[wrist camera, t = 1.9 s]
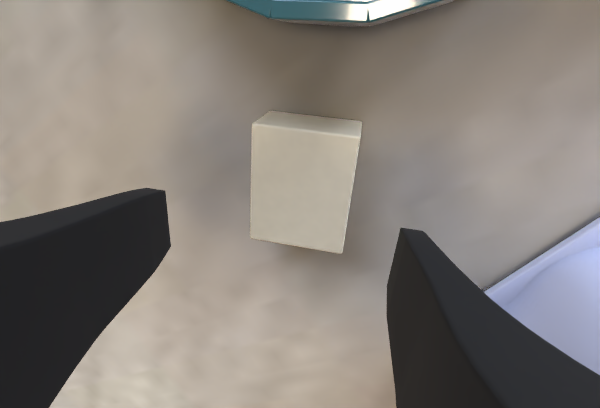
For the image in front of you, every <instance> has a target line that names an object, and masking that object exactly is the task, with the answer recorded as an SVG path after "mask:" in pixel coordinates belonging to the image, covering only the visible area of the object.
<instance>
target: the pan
mask: <svg viewBox="0 0 600 408" xmlns="http://www.w3.org/2000/svg"><path fill="white" fill-rule="evenodd" d="M226 1H228V2H231V3H233V4H236V5H238V6H240V7H243V8H245V9H247V10H250V11H252V12H254V13H257V14H259V15H262V16H264V17H266V18H269V19H274V20H280V21H286V22H291V23H297V24H318V25H337V26H363V27H369V26H374V25H377V24H381V23H384V22H387V21H391V20H394V19H397V18H402V17H404V16H407V15H411V14H414V13H417V12H421V11H424V10H427V9H430V8H434V7H437V6H440V5H444V4H447V3H449V2H452V1H454V0H226Z"/></svg>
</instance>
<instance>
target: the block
mask: <svg viewBox="0 0 600 408" xmlns="http://www.w3.org/2000/svg"><path fill="white" fill-rule="evenodd" d="M361 131H362V122H361V121H354V120H346V119H338V118H329V117H321V116H313V115H304V114H296V113H288V112H279V111H269V112H268V113H266V114H265V115H263V116H262V117H261V118H259V119H258V120H256V121H255V122H254V123H252V141H251V198H250V238H251V239H256V240H262V241H268V242H273V243H279V244H285V245H291V246H297V247H302V248H308V249H314V250H320V251H326V252H332V253H337V254H342V252H343V246H344V240H345V233H346V227H347V221H348V214H349V208H350V202H351V195H352V189H353V183H354V176H355V170H356V164H357V158H358V151H359V145H360V138H361Z"/></svg>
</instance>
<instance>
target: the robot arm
mask: <svg viewBox="0 0 600 408" xmlns="http://www.w3.org/2000/svg"><path fill="white" fill-rule="evenodd" d="M170 247H171V244H170V234H169V224H168V214H167V204H166V194H165V191H163V190H157V189H150V188H143V189H137V190H132V191H127V192H123V193H119V194H115V195H112V196H108V197H104V198H100V199H97V200H93V201H89V202H86V203H82V204H78V205H75V206H71V207H67V208H63V209H58V210H54V211H50V212H46V213H42V214H38V215H34V216H30V217H25V218H20V219H15V220H10V221H4V222H0V408H49V406H50V405H51V403H52V402H53V400H54V399H55V397H56V396H57V394H58V393H59V391H60V390H61V388H62V387H63V385H64V384H65V382H66V381H67V379H68V378H69V376H70V375H71V374H72V372H73V371H74V369H75V368H76V366H77V365H78V364H79V362H80V361H81V359H82V358H83V357H84V355H85V354H86V352H87V351H88V350H89V348H90V347H91V345H92V344H93V343H94V341H95V340H96V339H97V337H98V336H99V335H100V334H101V333H102V331H103V330H104V329H105V328H106V326H107V325H108V324H109V323H110V322H111V321H112V320H113V319H114V317H115V316H116V315H117V314H118V313H119V312H120V311H121V309H122V308H123V307H124V306H125V305H126V304H127V303H128V302H129V300H130V299H131V298H132V297H133V296H134V295H135V294H136V293H137V291H138V290H139V289H140V288H141V287H142V286H143V285H144V283H145V282H146V281H147V280H148V279H149V278H150V276H151V275H152V274H153V273H154V272H155V270H156V269H157V267H158V266H159V264H160V263H161V261H162V260H163V258H164V257H165V255H166V253H167V252H168V250H169V248H170ZM387 322H388V331H389V340H390V349H391V357H392V365H393V374H394V382H395V392H396V406H397V408H600V217H599V218H597V219H596V220H594V221H593V222H591V223H590V224H588V225H587V226H585V227H583V228H582V229H580V230H579V231H577V232H576V233H574V234H573V235H571V236H570V237H568V238H566V239H565V240H563V241H562V242H560V243H559V244H557V245H556V246H554V247H553V248H551V249H549V250H548V251H546V252H545V253H543V254H542V255H540V256H539V257H537V258H536V259H534V260H532V261H531V262H529V263H528V264H526V265H525V266H523V267H522V268H520V269H519V270H517V271H515V272H514V273H512V274H511V275H509V276H508V277H506V278H505V279H503V280H502V281H500V282H498V283H497V284H495V285H494V286H492V287H491V288H489V289H488V290H486V291H484V292H483V291H482V290H481V289H480V288H478V287H477V286H476V285H475V284H474V283H473V282H472V281H471V280H470V279H469V278H468V277H467V276H466V275H465V274H464V273H463V272H462V271H461V270H460V269H459V268H458V267H457V266H456V265H455V264H454V263H453V262H452V261H451V260H450V259H449V258H448V257H447V256H446V255H445V254H444V253H443V252H442V251H441V249H440V248H439V247H438V246H437V245H436V244H435V243H434V242H433V241H432V240H431V239H430V238H429V237H428V235H427V234H426V233H424V232H423V231H419V230H413V229H406V228H401V229H400V233H399V238H398V242H397V246H396V250H395V254H394V259H393V263H392V267H391V271H390V275H389V280H388V284H387Z"/></svg>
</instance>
